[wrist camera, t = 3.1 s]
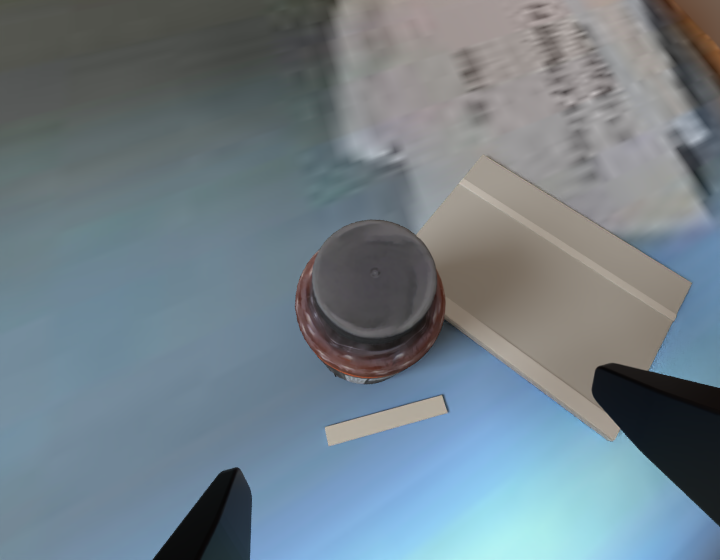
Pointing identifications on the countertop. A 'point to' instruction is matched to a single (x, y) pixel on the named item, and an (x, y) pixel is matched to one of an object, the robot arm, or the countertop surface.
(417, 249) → the supplement bottle
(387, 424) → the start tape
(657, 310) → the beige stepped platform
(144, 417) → the countertop surface
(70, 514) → the countertop surface
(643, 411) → the robot arm
